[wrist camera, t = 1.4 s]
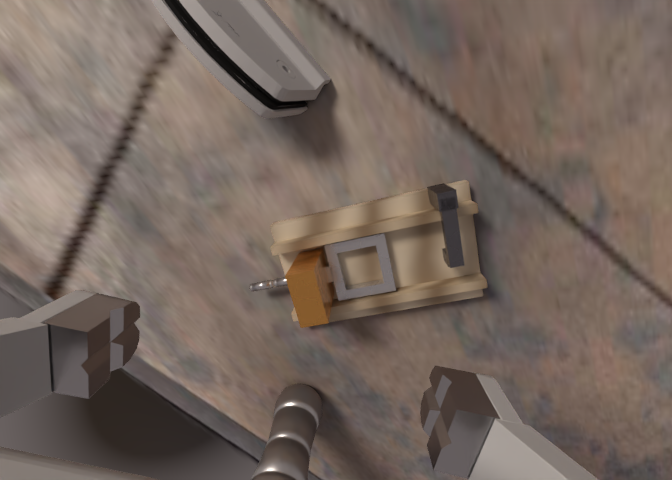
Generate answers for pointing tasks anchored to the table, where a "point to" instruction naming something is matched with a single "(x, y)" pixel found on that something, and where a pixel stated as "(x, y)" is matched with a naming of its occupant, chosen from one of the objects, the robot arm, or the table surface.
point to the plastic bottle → (291, 435)
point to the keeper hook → (448, 222)
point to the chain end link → (329, 279)
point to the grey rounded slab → (248, 52)
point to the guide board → (390, 251)
